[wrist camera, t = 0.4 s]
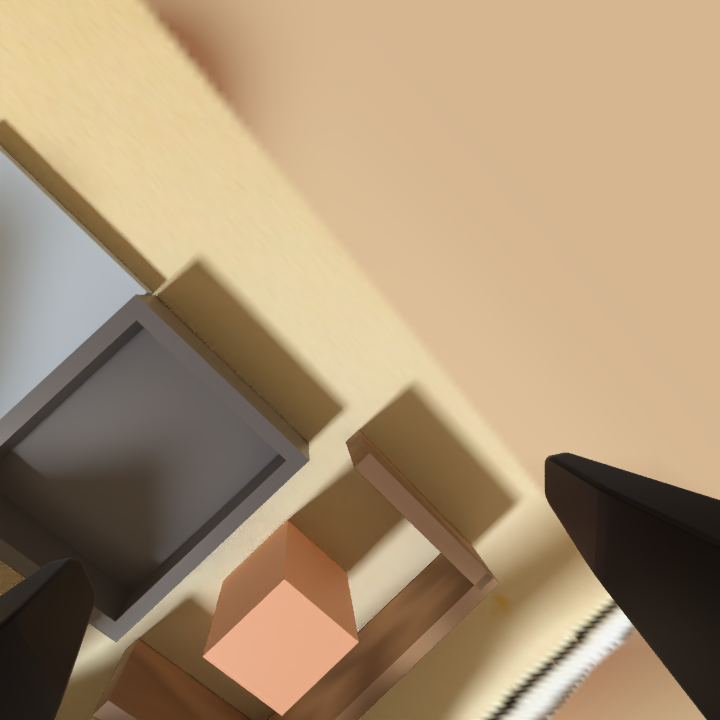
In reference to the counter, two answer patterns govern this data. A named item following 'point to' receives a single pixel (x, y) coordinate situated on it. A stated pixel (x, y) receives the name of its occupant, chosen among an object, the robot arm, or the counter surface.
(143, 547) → the box
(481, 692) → the counter surface
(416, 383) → the counter surface
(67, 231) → the pad
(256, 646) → the cube
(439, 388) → the counter surface
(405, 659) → the cubby
